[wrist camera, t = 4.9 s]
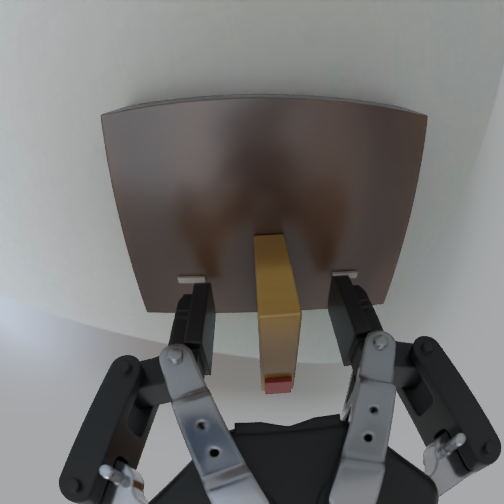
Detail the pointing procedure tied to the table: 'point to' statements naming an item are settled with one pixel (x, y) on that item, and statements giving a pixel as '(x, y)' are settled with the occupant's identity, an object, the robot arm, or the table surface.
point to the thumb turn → (276, 313)
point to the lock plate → (262, 192)
